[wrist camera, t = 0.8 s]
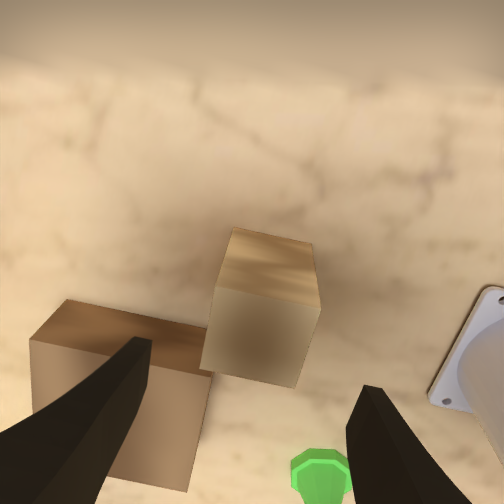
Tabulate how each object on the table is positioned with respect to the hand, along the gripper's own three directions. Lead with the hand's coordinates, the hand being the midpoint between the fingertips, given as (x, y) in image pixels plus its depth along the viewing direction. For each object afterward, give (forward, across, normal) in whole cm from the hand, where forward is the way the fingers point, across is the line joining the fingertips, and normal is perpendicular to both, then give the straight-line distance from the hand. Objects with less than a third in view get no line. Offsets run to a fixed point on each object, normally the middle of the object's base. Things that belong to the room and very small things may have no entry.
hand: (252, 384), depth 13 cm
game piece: (+9, -7, +14) cm, 18 cm away
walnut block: (+9, +6, +9) cm, 14 cm away
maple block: (+8, 0, 0) cm, 8 cm away
